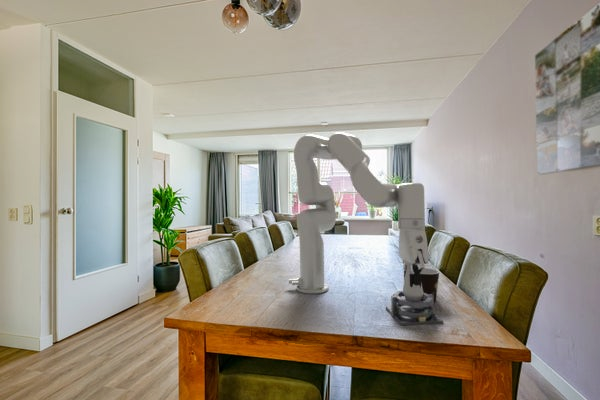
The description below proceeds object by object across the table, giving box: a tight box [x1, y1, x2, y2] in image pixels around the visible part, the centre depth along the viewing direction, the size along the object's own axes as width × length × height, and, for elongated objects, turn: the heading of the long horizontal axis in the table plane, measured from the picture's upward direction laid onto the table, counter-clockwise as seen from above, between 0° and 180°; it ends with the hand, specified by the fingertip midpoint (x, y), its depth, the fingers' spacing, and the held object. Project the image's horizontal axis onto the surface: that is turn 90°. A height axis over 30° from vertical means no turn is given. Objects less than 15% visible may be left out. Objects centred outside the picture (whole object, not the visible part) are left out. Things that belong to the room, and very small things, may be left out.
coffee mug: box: [421, 267, 440, 303], centre depth 100 cm, size 12×9×10 cm
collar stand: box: [385, 290, 444, 326], centre depth 86 cm, size 13×12×6 cm
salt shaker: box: [402, 260, 423, 301], centre depth 86 cm, size 6×6×13 cm
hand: (412, 284), depth 86 cm, fingers closed on salt shaker, 3 cm apart
